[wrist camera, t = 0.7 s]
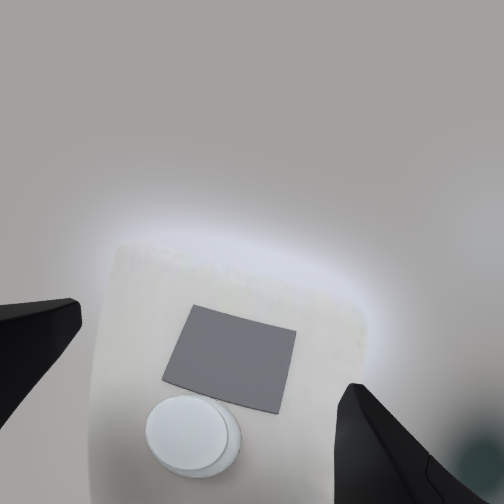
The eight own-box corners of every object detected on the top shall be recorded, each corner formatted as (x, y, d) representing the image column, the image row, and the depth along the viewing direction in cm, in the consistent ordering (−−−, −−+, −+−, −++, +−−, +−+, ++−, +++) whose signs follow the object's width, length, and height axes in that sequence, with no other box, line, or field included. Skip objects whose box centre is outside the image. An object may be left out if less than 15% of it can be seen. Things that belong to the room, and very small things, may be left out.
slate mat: (277, 414, 20) (278, 413, 19) (162, 380, 21) (161, 379, 21) (295, 333, 25) (296, 331, 25) (193, 306, 26) (193, 304, 26)
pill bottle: (160, 453, 16) (113, 447, 9) (187, 401, 20) (160, 362, 13) (223, 482, 15) (217, 500, 8) (248, 426, 19) (260, 405, 12)
